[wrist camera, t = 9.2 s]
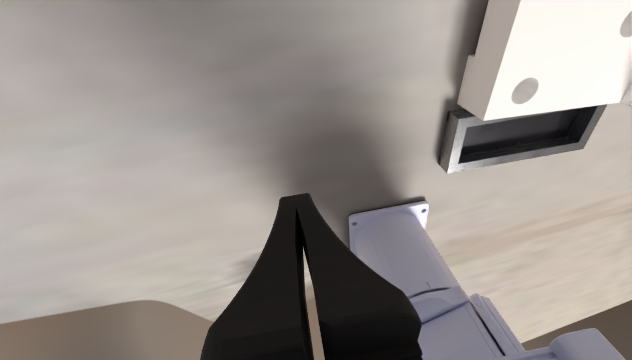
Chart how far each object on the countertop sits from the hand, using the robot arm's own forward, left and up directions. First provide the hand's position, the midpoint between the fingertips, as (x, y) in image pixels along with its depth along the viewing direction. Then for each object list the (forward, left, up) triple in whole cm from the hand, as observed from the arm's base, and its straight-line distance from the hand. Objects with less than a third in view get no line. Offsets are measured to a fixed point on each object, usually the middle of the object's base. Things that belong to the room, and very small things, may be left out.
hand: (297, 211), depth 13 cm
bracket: (+3, -20, -10) cm, 23 cm away
